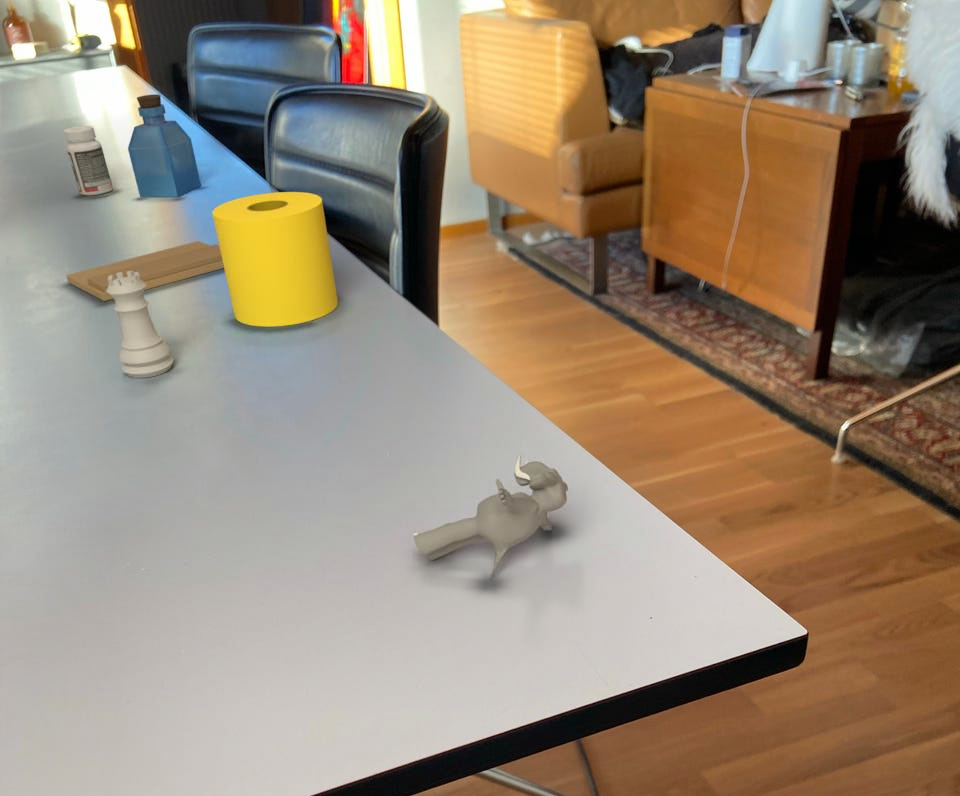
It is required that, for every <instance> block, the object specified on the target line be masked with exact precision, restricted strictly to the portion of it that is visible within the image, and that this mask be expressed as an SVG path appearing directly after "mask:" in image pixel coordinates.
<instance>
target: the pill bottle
mask: <svg viewBox="0 0 960 796" xmlns="http://www.w3.org/2000/svg"><path fill="white" fill-rule="evenodd" d="M63 133H64V137H65V140H66V142H68V144H67V146H66V152H67V155H68V158H69V161H70V165H71V169H72V171H73V176H74V178H75V182H76V186H77V189H78V192H79V194H80V195H82V196H97V195H102V194H106V193H109V192H111V191H112V190H113V189H114V186H113V183H112V179H111V176H110V172H109V168H108V165H107V164H108V163H107V162H106V158H105V154H104V150H103V147H102V144H101V142H100V141H99V140H97V139H96V138H97V136H96V131H95V129H94V127H93V126H92V125H79V126H73V127H69V128H66V129H64V130H63Z"/></svg>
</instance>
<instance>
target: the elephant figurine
mask: <svg viewBox="0 0 960 796" xmlns="http://www.w3.org/2000/svg"><path fill="white" fill-rule="evenodd" d="M521 463H522V454H519V456H518V458H517V461H515V465H514V472H513V474H514V478H515V482H516V483H517V484H518V485H519V486H521V487H525V486H529V487H528V488H529V489H530V490H532V492H531V495H529V494H527V493H524V492H522V491H521V492H520V491H519V492H515V493H513V494H511V493H510V491H508V490H507V489H506V488H505V487H504V485H503V483H502V482H501V481H500V478H497V479H496V480H495V484H496V486H497V487H496V488H497V490H498V491H497V493H496V494H493V495H490V496H488V497H486V498H484V499H483V500H481V501H479V503H478V504H477V508H476V515H475V516H474V517H467V518H464V519H463V518H462V519H460V520H457V521H454V522H448V523H445V524H442V525H440V526H439V527H437V528H434V529H430V530H426V531H423V532H421V533H420V532H418V531H415V532H413V533H412V535H413V540H414V541H415V542H414V543H415V545H416V548H417V550H418V552H419V553H420V555H421V556H422V557H425V556H427V557H428V559H429V560H430V561H435V560H436V559H438V558H441V557H443V556H446V555H448V554H449V553H451V552H453V551H455V550H458V549H460V548H462V547H466V546H470V545H474V544H477V543H479V542H482V541H484V540H487V541H488V542H489V543H490V545H491V547H492V549H493V551H494V554H495V556H494V565H493V568H492V571H491V573H490V579H489V580H491V579H492V578H493V576H494V575H495V573H496V571H497V569H498V567H499V565H500V564H501V562H502V559H504V556H505V555H506V554H507V552H508V550H509V549H512V548H513V547H515V546H516V545H518V544H520V543H522V542H524V541H526V540H528V539H529V538H530V537H531V536H532V535H534V533H535V532H536V531H537V530H538V529H539V527H540V528H541V529H542V530H543V531H548V532H550V531H552V527H553V526H552V522H551V521H550V518H549V517H548V514H549V513H551V512H554V511H557V510H559V509H561V508H563V507H564V506H565V505H566V503H567V502H568V497H567V492H568V491H569V487H568V484H567V483H566V482H565V481H564V480H563V478H562V476H561V475H560V473H559V471H558V470H557V469H555V468H554V467H552V468H551V467H548V466H547V465H546V464H544V463H543V462H541V461H538V460H537V461H535V460H533V461H530V462H529V459H527V461H525V463H524V464H523V465H522V464H521Z"/></svg>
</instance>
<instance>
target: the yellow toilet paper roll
mask: <svg viewBox="0 0 960 796" xmlns="http://www.w3.org/2000/svg"><path fill="white" fill-rule="evenodd" d="M324 210H325V209H324V205H323V198H322V197H321V196H319V195H318V194H315V193H310V192H302V191H301V192H300V191H278V192H267V193H260V194H254V195H253V194H252V195H249V196H243V197H239V198H236V199H232V200H230V201H227V202H224V203H221V204H220V205H218V206H217V207H215V208H214V209H213V210H212V212H211V213H212V218H213V222H214V227H215V232H216V236H217V241H218V245H219V246H220V251H221V255H222V260H223V264H224V268H223V269H224V274H225V278H226V282H227V283H226V284H227V287H228V292H229V296H230V301H231V306H232V310H233V314H234V318H235V319H236V320H237V321H238V322H240V323H241V324H244V325H248V326H251V327H264V328H265V327H267V328H268V327H270V328H273V327H285V326H294V325H298V324H304V323H307V322H311V321H314V320H316V319H320V318H323V317H324V316H326V315H328V314H330V313H331V312H333V311H334V310H335V309H336V308H337V307H338V305H339V302H338V301H339V300H338V294H337V288H336V282H335V275H334V269H333V263H332V261H333V260H332V256H331V249H330V243H329V236H328V230H327V225H326V216H325V211H324Z"/></svg>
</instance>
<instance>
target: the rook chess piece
mask: <svg viewBox="0 0 960 796" xmlns="http://www.w3.org/2000/svg"><path fill="white" fill-rule="evenodd" d="M127 275H128V277H123V275H122V272H119V273H116V276H117V279H115V278H114V275H110V276H109V277H108V283H109V285H108V288H107V290H106V292H107V293H108V294H110V295H111V296H112V297H113V298H114V299H113V300H114V302H115V305H114V308H113V309H114V310H115V311H116V312H117V315H118V318H119V323H120V324H119V325H120V331H121V339H122V340H121V343H120V347H121V349H120V351H119V354H118V360H119V361H120V362H121V363H122V365H121V371H123V373H124V374H125V375H127V376H128V377H129V378H134V379H146V378H152V377H157V376H160V375H162V374H164V373H167V372H168V371H169V370H170V369H171V368H172V365H173V363H174V358H173V357H172V356H171V355H170V352H171V348H170V346H169V344H167V343H166V342H165V341H163V339H162V336H161V335H159V334H158V331H157V330H156V328H155V326H154V323H153V321H152V318H151V316H150V313H149V312H150V311H149V309H148V305H149V302H148V301H147V300H146V298H145V296H144V293H145V291H146V290H145V287H146V283H145V282H143V281H142V280H141V279H140V276H139V273H138V272H134V273H133V271H127Z"/></svg>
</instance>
